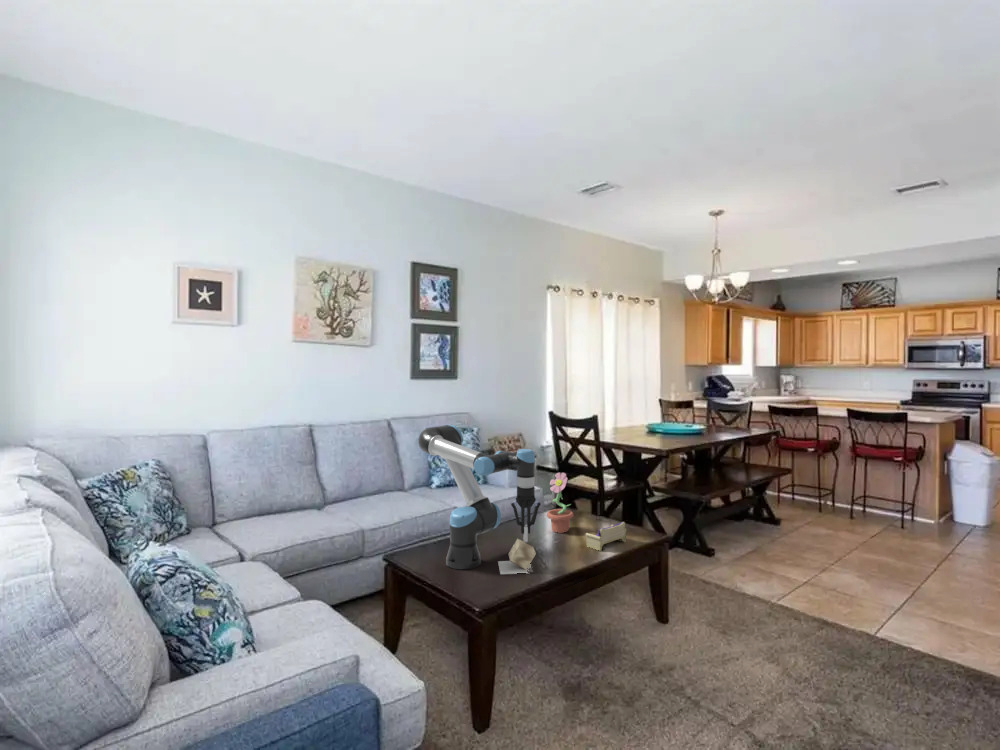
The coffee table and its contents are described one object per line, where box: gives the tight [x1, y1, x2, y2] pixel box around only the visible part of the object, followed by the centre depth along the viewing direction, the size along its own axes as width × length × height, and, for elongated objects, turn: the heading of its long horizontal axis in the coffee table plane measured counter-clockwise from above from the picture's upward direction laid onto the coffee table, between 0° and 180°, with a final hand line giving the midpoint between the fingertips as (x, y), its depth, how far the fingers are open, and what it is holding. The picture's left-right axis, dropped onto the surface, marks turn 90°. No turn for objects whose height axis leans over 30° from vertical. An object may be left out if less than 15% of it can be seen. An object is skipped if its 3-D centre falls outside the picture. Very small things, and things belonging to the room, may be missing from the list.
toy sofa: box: [585, 521, 627, 552], centre depth 267 cm, size 21×9×10 cm, turn 132°
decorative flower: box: [546, 472, 574, 534], centre depth 288 cm, size 15×14×30 cm
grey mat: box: [497, 560, 532, 575], centre depth 238 cm, size 14×14×1 cm
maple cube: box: [508, 538, 537, 570], centre depth 238 cm, size 8×8×8 cm
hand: (525, 540), depth 239 cm, fingers closed
